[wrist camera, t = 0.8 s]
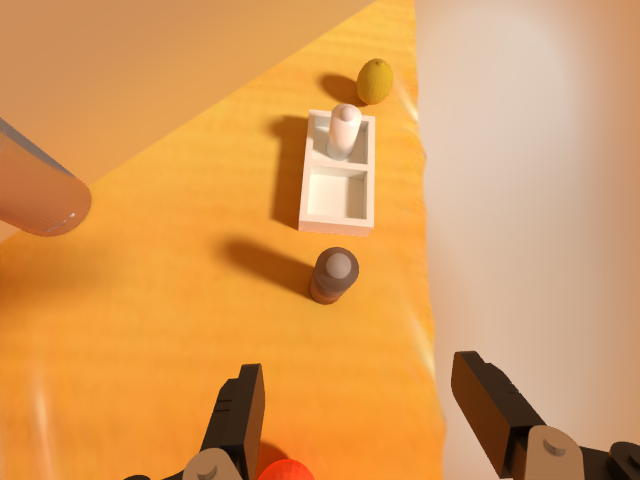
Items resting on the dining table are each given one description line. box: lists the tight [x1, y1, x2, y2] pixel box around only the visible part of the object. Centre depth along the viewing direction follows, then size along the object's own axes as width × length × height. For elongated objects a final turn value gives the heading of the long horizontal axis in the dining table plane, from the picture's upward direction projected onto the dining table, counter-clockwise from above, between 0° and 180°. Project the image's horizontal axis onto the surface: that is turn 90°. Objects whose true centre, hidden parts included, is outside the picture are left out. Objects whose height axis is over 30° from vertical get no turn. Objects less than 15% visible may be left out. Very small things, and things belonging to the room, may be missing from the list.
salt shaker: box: [326, 104, 362, 161], centre depth 45 cm, size 4×4×9 cm
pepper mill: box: [309, 247, 359, 305], centre depth 37 cm, size 4×4×13 cm
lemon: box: [356, 59, 393, 105], centre depth 50 cm, size 6×6×8 cm
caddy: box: [298, 109, 375, 237], centre depth 47 cm, size 18×10×4 cm, turn 176°
